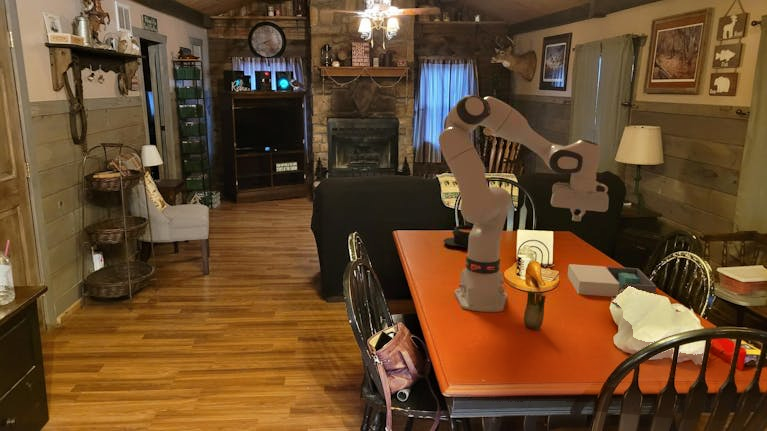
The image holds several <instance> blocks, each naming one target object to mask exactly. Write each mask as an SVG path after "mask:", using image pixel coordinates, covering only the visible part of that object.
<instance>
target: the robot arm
mask: <svg viewBox="0 0 767 431" xmlns="http://www.w3.org/2000/svg"><path fill="white" fill-rule="evenodd" d="M479 126H481V127H485V128H487V129H488V130H489V131H491V132H492V133H493V134H495V135H497V136H498V137H500V138H502V139H503V140H506V141H508V142H510V143H511V142H512V143H518V144H521V145H523V146H525V147H527V148H528V149H529V150H530V151H532V152H534V153H535V154H537V155H538V156H539V157H540V159H541V160H542V162H543V163H544V165H545V167H547V168H548V169H549V170H550V171H552V172H553V173H556V174H557V175H567V174H570V179H569V180H570V181H569V182H560V181H559V182H556V183H554V184H553V185H552V188H551V191H552V195H551V199H550V205H551V206H552V207H555V208H563V209H570V213H571V215H572V218H571V220H572V221H575V222H581V221H582V217H583V216H584V215H585V214H586V211H590V212H591V211H594V212H601V213H602V212H603V213H605V212H607V211H608V209H609V202H610V201H609V199H610V198H609V195H608V191H609V187H608V186H607V185H605V184H603V183H602V182H599V181H597V170H598V168H599V165H600V156H601V147H600V145H599V144H598V143H596V142H594V141H591V140H587V139H579V140H578V141H576V142H573V143H571V144H568V145H563V144H561V143H557V142H551V141H550V140H547V139H546V138H545V137H543V136H541V135H540V134H538V133H537V132H536V131H535V130H533V128H531V126H530V125H529V123H528V120H527V119H526V118H525V117H524V116H523V115H522V114H521V112H519V111H517V110H516V109H515V108H513V107H512V106H511V105H509V104H507V103H506V102H503V101H502V100H500V99H498V98H495V97H493V96H485V97H481V96H479V95H475V94H467V95H465V96H463V97H462V98H460V99H459V101H458V102H457V103H456V104H455V105H454V106H453V107H452V108H451V109H450V111H449V112H448V114H447V115H446V117H445V118H444V123H443V130H442V131H441V132H440V134H439V135H438V144H439V148H440V150H441V153H442V155H443V158H444V160H445V162H446V164H447V166H448V168H449V169H450V172H451V174H452V176H453V177H454V179H455V182H456V183H457V184H456V185H457V187H458V192H459V195H460V199H461V200H460V201H461V203H460V204H461V205H460V214H461V215H462V218H463V219H464V220H465V221H466V222H468V223H471V224H473V228H472V230H471V232H470V234H469V242H468V249H467V255H466V258H465V267H464V269H462V270H461V272H460V281H459V282H460V283H459V288H457V289H455V290H454V291H453V292H454V296H455V298H456V299H457V301H458V303H459V305H460V307H461V308H462V309H465V310H469V311H475V312H482V313H485V312H487V313H498V312H503V311H504V309H505V305H506V302H507V298H508V294H507V292H505V289H506V288H505V286H503V285H504V283H505V280H504V279H503V272H501V271H500V266H501V259H500V250H501V249H500V248H501V241H502V240H501V239H502V236H503V234H502V233H503V230H504V227H505V224H506V219H507V215H508V212H509V209H510V207H511V205H512V196H511V194H510V192H509V191H508V190H507V189H505V188H503V187H499V186H489V185H488V181H487V178H486V167H485V164H484V162H483V160H482V159H481V156H479V153H478V151H477V149H476V148H475V145H474V144H473V143H472V140H471V137H470V134H471V133H472V132H473V131H475V130H476V129H477V128H478V127H479ZM576 210H580V213H579V214H578V215H576V214H575V213H574V212H576Z"/></svg>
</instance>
